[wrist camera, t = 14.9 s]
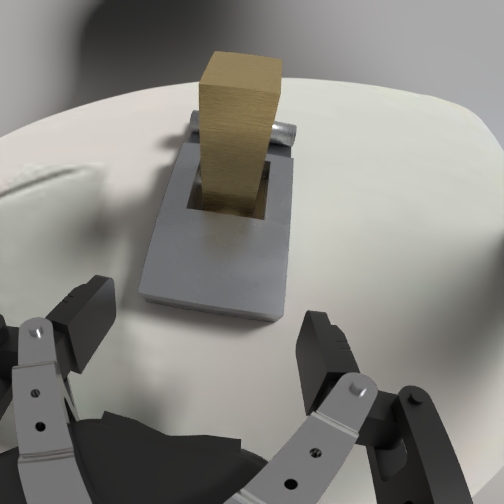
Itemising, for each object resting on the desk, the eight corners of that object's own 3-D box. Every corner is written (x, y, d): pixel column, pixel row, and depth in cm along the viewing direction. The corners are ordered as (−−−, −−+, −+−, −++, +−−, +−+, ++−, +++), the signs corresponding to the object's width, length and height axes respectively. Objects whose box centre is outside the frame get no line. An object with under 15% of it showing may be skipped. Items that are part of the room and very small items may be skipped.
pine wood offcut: (254, 186, 23) (282, 59, 12) (250, 224, 22) (280, 93, 11) (211, 181, 23) (214, 51, 12) (203, 217, 22) (198, 83, 11)
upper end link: (287, 176, 24) (293, 158, 22) (275, 322, 19) (283, 315, 17) (185, 161, 24) (183, 142, 22) (146, 301, 19) (137, 292, 16)
